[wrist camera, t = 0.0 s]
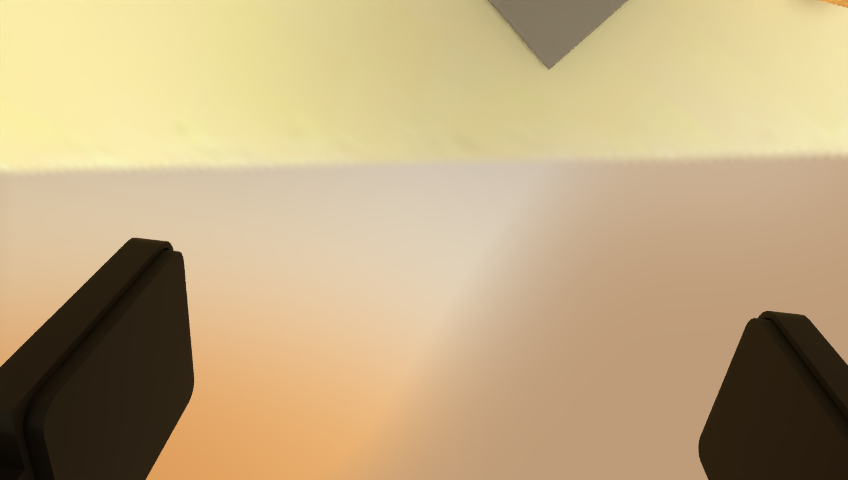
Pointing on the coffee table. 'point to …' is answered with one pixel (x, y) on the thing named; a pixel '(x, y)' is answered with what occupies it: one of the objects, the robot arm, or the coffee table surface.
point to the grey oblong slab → (555, 23)
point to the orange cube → (838, 2)
